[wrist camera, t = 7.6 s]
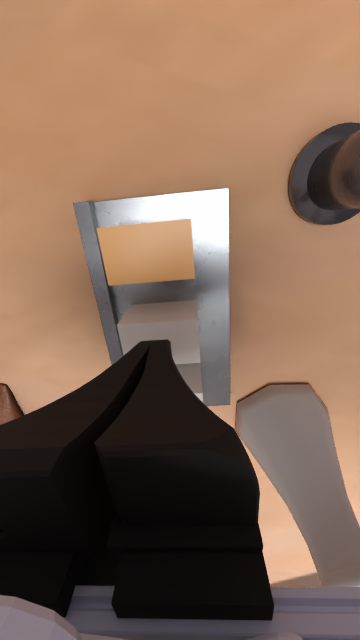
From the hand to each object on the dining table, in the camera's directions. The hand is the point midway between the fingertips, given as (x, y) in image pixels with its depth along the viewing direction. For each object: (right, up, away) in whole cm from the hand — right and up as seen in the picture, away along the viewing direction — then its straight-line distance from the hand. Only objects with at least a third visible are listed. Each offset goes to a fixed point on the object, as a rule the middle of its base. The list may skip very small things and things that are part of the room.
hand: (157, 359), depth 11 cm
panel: (0, +2, +5) cm, 5 cm away
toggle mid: (0, +2, +4) cm, 4 cm away
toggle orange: (0, +6, +2) cm, 6 cm away
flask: (+9, -6, +8) cm, 14 cm away
